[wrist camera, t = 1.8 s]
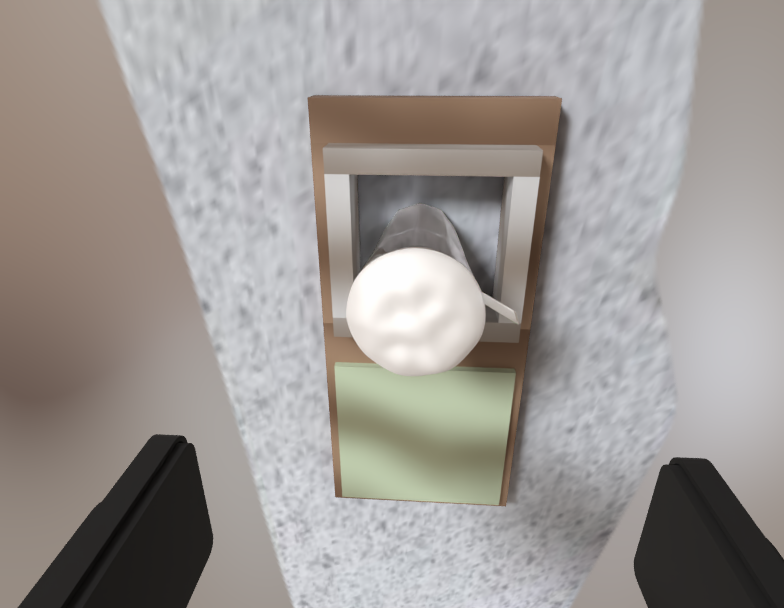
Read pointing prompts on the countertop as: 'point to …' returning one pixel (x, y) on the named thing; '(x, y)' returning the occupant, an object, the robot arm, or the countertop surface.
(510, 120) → the board
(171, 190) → the countertop surface
